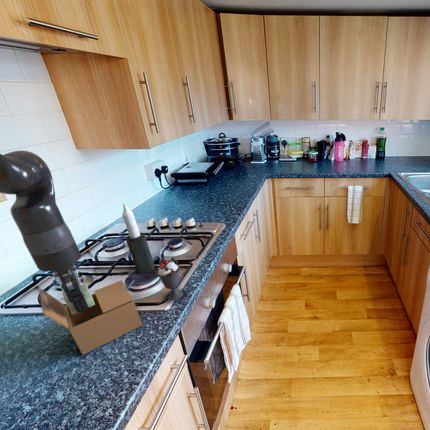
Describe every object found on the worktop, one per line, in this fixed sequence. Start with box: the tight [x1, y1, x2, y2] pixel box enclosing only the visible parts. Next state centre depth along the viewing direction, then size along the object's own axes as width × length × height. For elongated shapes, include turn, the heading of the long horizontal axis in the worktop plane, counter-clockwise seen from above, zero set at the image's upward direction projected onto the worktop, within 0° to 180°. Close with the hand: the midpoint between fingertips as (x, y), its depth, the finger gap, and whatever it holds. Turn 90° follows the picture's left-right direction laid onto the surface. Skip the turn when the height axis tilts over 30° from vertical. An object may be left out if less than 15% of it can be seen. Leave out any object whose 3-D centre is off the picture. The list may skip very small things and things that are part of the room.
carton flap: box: [39, 288, 69, 329], centre depth 66 cm, size 6×11×1 cm
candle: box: [122, 203, 155, 275], centre depth 94 cm, size 5×5×25 cm
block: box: [61, 282, 95, 314], centre depth 69 cm, size 4×4×4 cm
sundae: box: [154, 257, 184, 302], centre depth 84 cm, size 7×7×15 cm
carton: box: [63, 279, 144, 356], centre depth 74 cm, size 13×11×9 cm
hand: (81, 304), depth 70 cm, fingers closed on block, 4 cm apart
